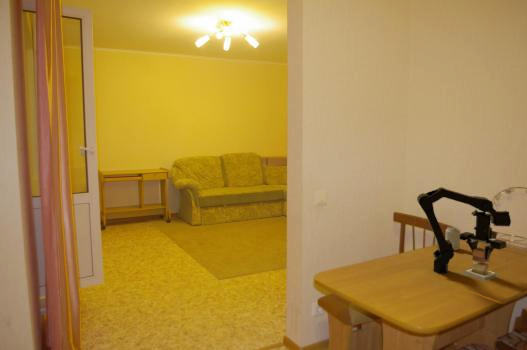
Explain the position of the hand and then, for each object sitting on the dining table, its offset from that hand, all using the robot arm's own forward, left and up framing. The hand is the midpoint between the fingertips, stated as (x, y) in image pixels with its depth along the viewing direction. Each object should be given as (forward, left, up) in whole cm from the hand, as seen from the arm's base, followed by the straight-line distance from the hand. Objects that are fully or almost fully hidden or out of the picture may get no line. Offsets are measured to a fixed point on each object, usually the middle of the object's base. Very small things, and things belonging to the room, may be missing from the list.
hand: (481, 258), depth 178 cm
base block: (0, 0, -8) cm, 8 cm away
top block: (0, 0, -1) cm, 1 cm away
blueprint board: (0, 0, -8) cm, 8 cm away
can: (+24, +30, -9) cm, 39 cm away
